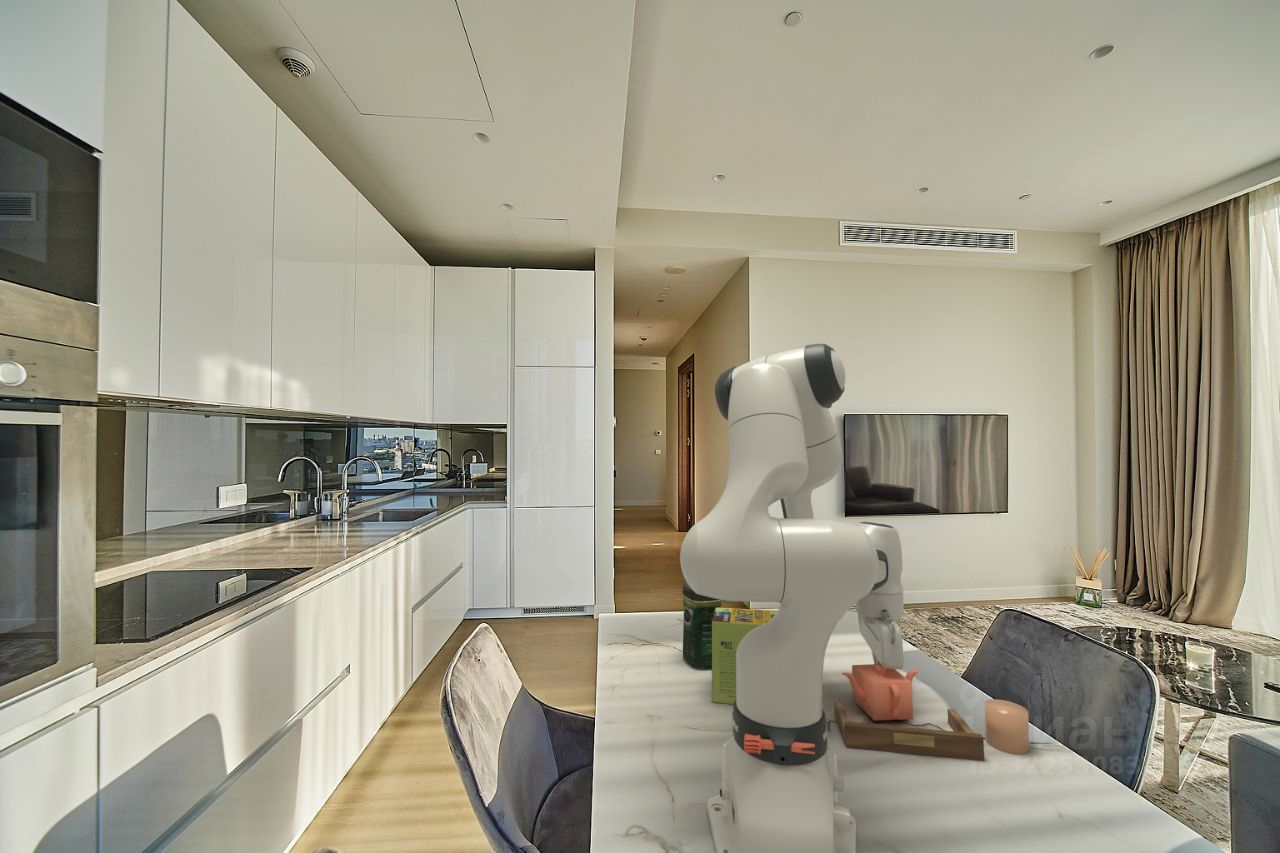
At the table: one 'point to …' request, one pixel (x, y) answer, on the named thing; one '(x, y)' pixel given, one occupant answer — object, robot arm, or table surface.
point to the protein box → (730, 646)
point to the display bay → (912, 737)
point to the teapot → (882, 691)
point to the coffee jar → (698, 627)
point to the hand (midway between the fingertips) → (880, 675)
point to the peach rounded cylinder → (1007, 726)
